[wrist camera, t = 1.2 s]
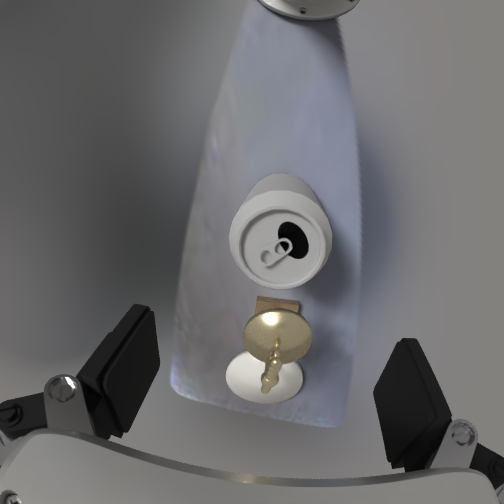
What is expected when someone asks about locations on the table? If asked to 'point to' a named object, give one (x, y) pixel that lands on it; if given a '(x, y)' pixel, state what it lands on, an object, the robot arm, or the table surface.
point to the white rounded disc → (249, 379)
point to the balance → (276, 337)
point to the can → (281, 233)
